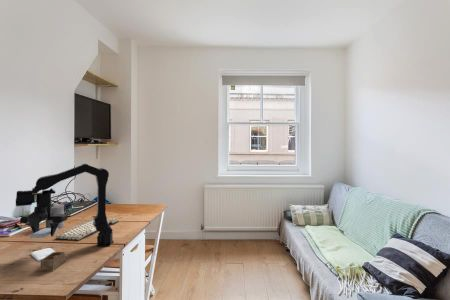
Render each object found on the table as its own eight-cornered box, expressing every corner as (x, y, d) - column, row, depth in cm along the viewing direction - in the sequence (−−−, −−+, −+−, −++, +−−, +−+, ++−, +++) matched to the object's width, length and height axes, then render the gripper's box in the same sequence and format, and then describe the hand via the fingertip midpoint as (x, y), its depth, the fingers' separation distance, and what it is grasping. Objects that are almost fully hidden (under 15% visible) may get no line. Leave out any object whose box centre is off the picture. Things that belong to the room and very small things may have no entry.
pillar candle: (42, 228, 165) (42, 204, 165) (58, 224, 174) (58, 201, 174) (51, 231, 161) (51, 206, 160) (67, 226, 169) (67, 203, 169)
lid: (57, 230, 130) (57, 227, 130) (44, 237, 120) (44, 234, 120) (44, 230, 130) (44, 228, 130) (29, 237, 120) (29, 235, 120)
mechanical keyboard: (83, 242, 143) (83, 236, 143) (51, 241, 146) (51, 235, 146) (119, 222, 181) (119, 217, 181) (93, 221, 183) (93, 216, 183)
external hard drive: (50, 250, 133) (59, 257, 124) (30, 255, 126) (38, 263, 118) (50, 247, 133) (59, 253, 124) (30, 252, 126) (38, 259, 118)
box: (64, 261, 118) (64, 251, 118) (53, 271, 110) (53, 260, 109) (53, 262, 118) (53, 252, 118) (40, 271, 109) (40, 260, 109)
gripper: (10, 208, 116) (11, 243, 117) (54, 207, 117) (54, 242, 117) (28, 202, 127) (28, 234, 128) (67, 201, 128) (68, 234, 129)
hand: (44, 236), depth 125 cm, fingers closed on lid, 7 cm apart
